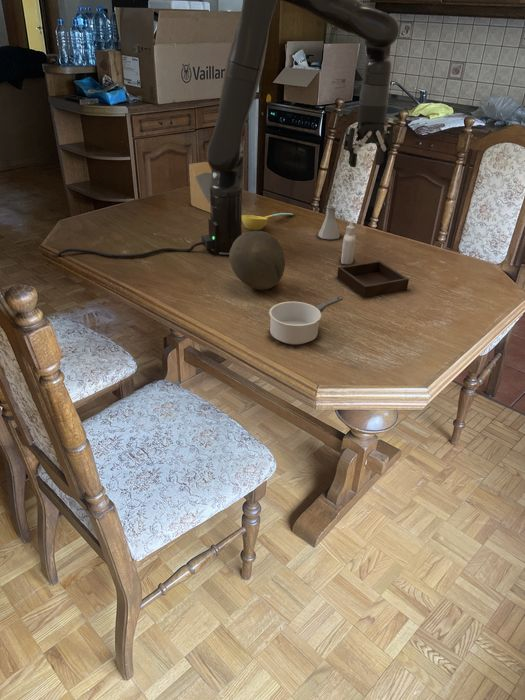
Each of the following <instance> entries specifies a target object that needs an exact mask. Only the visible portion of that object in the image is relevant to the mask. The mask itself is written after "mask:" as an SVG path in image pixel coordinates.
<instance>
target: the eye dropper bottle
mask: <svg viewBox="0 0 525 700" xmlns="http://www.w3.org/2000/svg"><path fill="white" fill-rule="evenodd" d="M353 223H354V222H353V221H349V223H348V225H347V226H346V228H345V234H344V235H343V238H342V248H341V257H340V263H341V265H344V266H349V265H352V264H353V262H354V256H355V247H356V239H357V238H356V235H355V232H356V227H355V226H354V224H353Z"/></svg>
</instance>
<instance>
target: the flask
mask: <svg viewBox="0 0 525 700" xmlns="http://www.w3.org/2000/svg"><path fill="white" fill-rule="evenodd" d="M326 209H327V210H326V214H325V218H324V220H323V223H322V226H321V228H320V230H319V231H318V234H317V236H318V237H319V238H320V239H325V240H338V239H340V237H341V235H340V230H339V227H338V224H337V219H336V210H337V205H333V204H328V205H326Z"/></svg>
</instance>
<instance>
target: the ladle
mask: <svg viewBox="0 0 525 700" xmlns="http://www.w3.org/2000/svg"><path fill="white" fill-rule="evenodd" d="M278 216H294V213H292V212H291V213H289V212H278V213H274V214H270V215H266V216H259V215H253V214H242V225H243V226H244V227H245V228H246V229H248V230H249V231H262V229H264V228H265V227H266V226H267V224H268V220H269V219H270V218H273V217H278Z"/></svg>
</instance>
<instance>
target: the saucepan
mask: <svg viewBox="0 0 525 700" xmlns="http://www.w3.org/2000/svg"><path fill="white" fill-rule="evenodd" d="M343 300H344V297H343V296H337V297H334V298H332V299H329V300H327V301H324V302H323V303H320V304H318V305H316V306H314V305H312V304H309V303H307V302H302V301H284V302H283V301H282V302H280V303H276V304H274V305H273V306H271V308H270V309H269V310H268V315H269V317H270V327H269V333H270V335H271V336H272V337H273V338H274V339H275V340H278V341H280V342H282V343H284V344H287V345H302V344H303V345H304V344H306V343H309V342H311V341H314V340H315V339H316V338H317V336H318V334H319V323H320V320H321V318H322V313H323V312H324V310H326V308H327V307H329V306H332V305H335V304H338V303H339V302H341V301H343Z"/></svg>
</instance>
